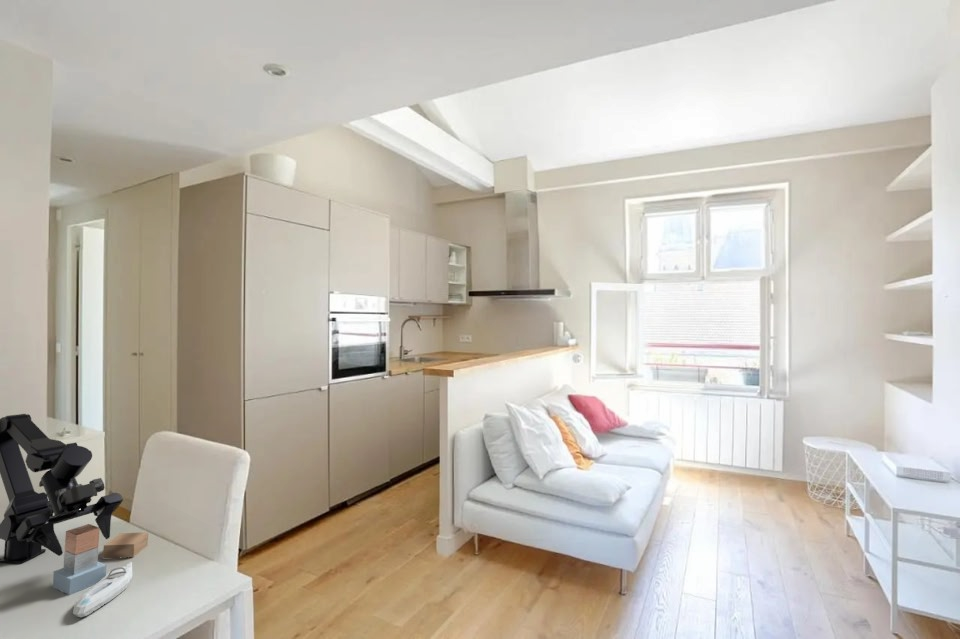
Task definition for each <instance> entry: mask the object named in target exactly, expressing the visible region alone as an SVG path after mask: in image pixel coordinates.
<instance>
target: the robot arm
mask: <svg viewBox="0 0 960 639" xmlns="http://www.w3.org/2000/svg"><path fill="white" fill-rule="evenodd" d="M20 447H21V448H22V449H23V450H24V452H25V453H26V454H27V455H26V458H25V460H24V457H23V454H22V452H21V448H20ZM92 458H93V453H92V450H90V449H88V448H87V447H85V446H81V445H78V443H77V442H72V443H64V442H63V441H61V440H57V439H53V438H50V437H48V436H47V435H46V434H45V433H44V432H43V430H42V429H40V428H39V427H38V425H37V424H36V423H35V422H34V421H33V420H32V417H31V415H30V414H29V413H28V414H27V413H21V414H20V413H19V414H12V415H6V416H2V417H1V418H0V478H1V479H2V483H3V487H4V489H5V493H6V495H7V498H8V502H9V503H8V505H7V507H6V510H5V511H4V513H3V519H2V521H1V522H0V540H3V541H4V551H3V552H4V553H3V557H0V563H4V564H5V563H6V564H9V563H10V564H23V563H25V562H27V561H29V560H31V559H34V558H36V557H38V556H39V555H42V554H43V553H45V552H46V550H49V551H51V552H52V553H53V554H55V555H57V556H59V557H60V556H62V555H63V553H64V552H63V548H62V545H61V543H60V541H59V539H58V537H57V535H56V532H55V527H54V526H55V525H56V524H59V523H63V522H66V521H69V520H73V519H75V518H80V517H83V516H86V515H90V514H92V513H93V515H94V517H95V516H96V518H95V519H94V520H95V522H96V525H97V527H99V528H100V533H101V534H102V536H103V538H105V540H108V539H110V537H111V524H112V523H111V521H112V515H113V513H114V512H115V511H116V510H117V509H118V507H119V506H120V505H121V504H122V502H124V498H123V496H122V495H121V494H120V493H118V492H115V493H110V494H107V495H104V496H100V498H99V499H98V500H97V502H96V503H93V504H89V503H91V501H92V498H93V497H97V496H98V493H101V492H103V491H104V490H105V488H106V487H105V483H104V481H103V479H102V477H98V478H94V479H92V480H90V481H89V483H87V484H82V483H78V481H77V479H76V478H77V477H78V476H80V475H81V473H82V472H83V471H84V470H85V468H86V467H87V465H88V464H89V463H90V461H91V460H92ZM28 469H29V470H30V471H31V472H33V473H39V472H44V471H46V472H45V473H44V474H43V475H42V476H41V478H40V481H39V483H38V487H40V488H41V487H43V489H44V491H45V492H37V491H35V489H34V486H33V482H32V480H31V477H30V475H29V474H30V473H29V471H28ZM87 504H89V505H87ZM42 547H44V548H42Z"/></svg>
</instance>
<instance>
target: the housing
mask: <svg viewBox="0 0 960 639" xmlns="http://www.w3.org/2000/svg"><path fill="white" fill-rule="evenodd" d="M100 532H101V530H100V528H99V527H98V526H95V525H93V524H90V523H88V524H84V525H81V526H78V527H75V528H71V529H68V530H66V531H65V536H64V537H65V540H64V542H65V543H64V552H63V553H64V555H63V556H64V557H63V567H62V568H63V570H64V571H66V572H68V573H70V574H72V575H76V574H78V573H81V572H83V571H86V570H89V569H91V568H94V567H96V566H97V561H98V562H99V560H98V559H99V558H98V556H99V545H100V544H99V543H100Z"/></svg>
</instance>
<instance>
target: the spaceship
mask: <svg viewBox="0 0 960 639" xmlns="http://www.w3.org/2000/svg"><path fill="white" fill-rule="evenodd" d="M132 578H133V562H132V561H128V562H127V563H126V564H125V565H124V566H116V567H113V568H112V569H111V570H110V571H109V572H107V573H106V576H105V577H104V578H102V579H101V580H100V581H99V582H98V583H97V584H94V585H92V587H91V588H89V590H87V591H86V592H85V593H83V594H82V595H81V596H80V597H79V598H78V600H77V601H76V602H75V604H74V606H73V611H72V613H73V615H75V617H78V618H84V617H86V616H89V615H91V614H92V613H94V612H95V611H97V610H98V609H100V608H102V607H103V606H105V605H106V604H108V603H109V602H111V601H112V600H113V599H115V598H116V597H117V596H118V595H119V594H121V593H122V592H123V591H125V590H126V589H127V588H128V587H129V585H130V583H131V580H132ZM104 604H105V605H104ZM101 606H102V607H101ZM93 611H94V612H93Z"/></svg>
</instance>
